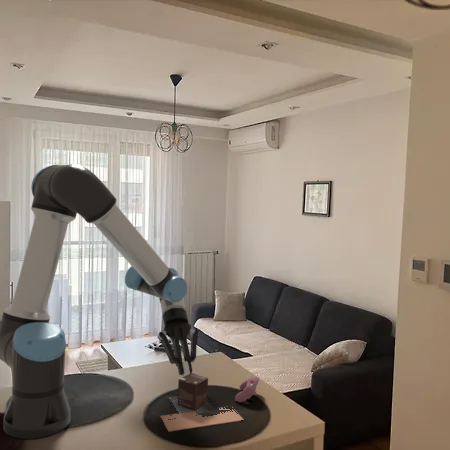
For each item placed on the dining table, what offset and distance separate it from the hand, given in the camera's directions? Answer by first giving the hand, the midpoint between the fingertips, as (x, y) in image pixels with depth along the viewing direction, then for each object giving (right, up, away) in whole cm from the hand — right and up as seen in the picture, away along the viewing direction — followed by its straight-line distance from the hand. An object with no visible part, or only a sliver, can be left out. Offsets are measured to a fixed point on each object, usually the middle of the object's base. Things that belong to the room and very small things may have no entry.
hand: (188, 384), depth 133 cm
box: (+2, -4, -5) cm, 7 cm away
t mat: (+3, -4, -8) cm, 9 cm away
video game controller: (+17, -4, +2) cm, 18 cm away
